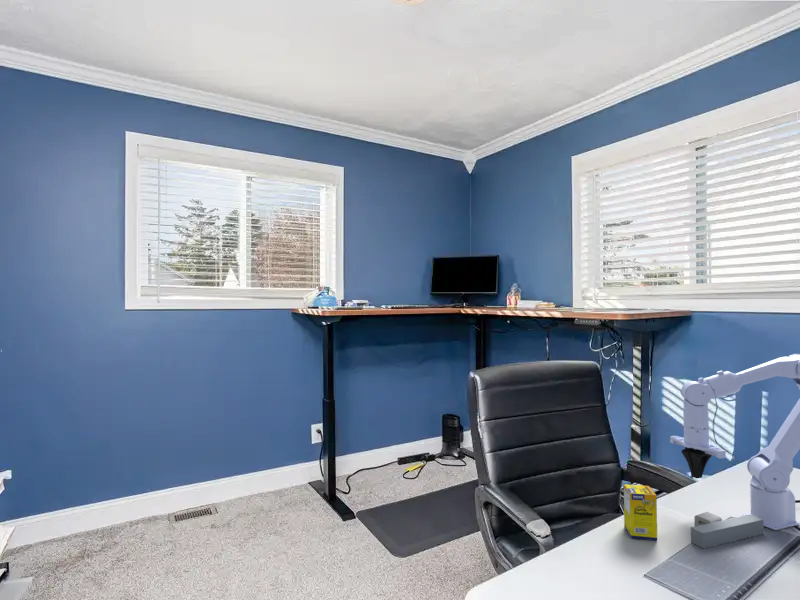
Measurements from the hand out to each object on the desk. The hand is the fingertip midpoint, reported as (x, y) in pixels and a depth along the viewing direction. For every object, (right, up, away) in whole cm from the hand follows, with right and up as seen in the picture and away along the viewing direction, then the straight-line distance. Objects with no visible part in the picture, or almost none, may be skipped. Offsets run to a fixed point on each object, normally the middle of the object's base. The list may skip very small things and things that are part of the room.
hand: (697, 477), depth 123 cm
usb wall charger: (-3, -10, -10) cm, 14 cm away
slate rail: (-2, -9, -14) cm, 17 cm away
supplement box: (-21, -10, -12) cm, 26 cm away
